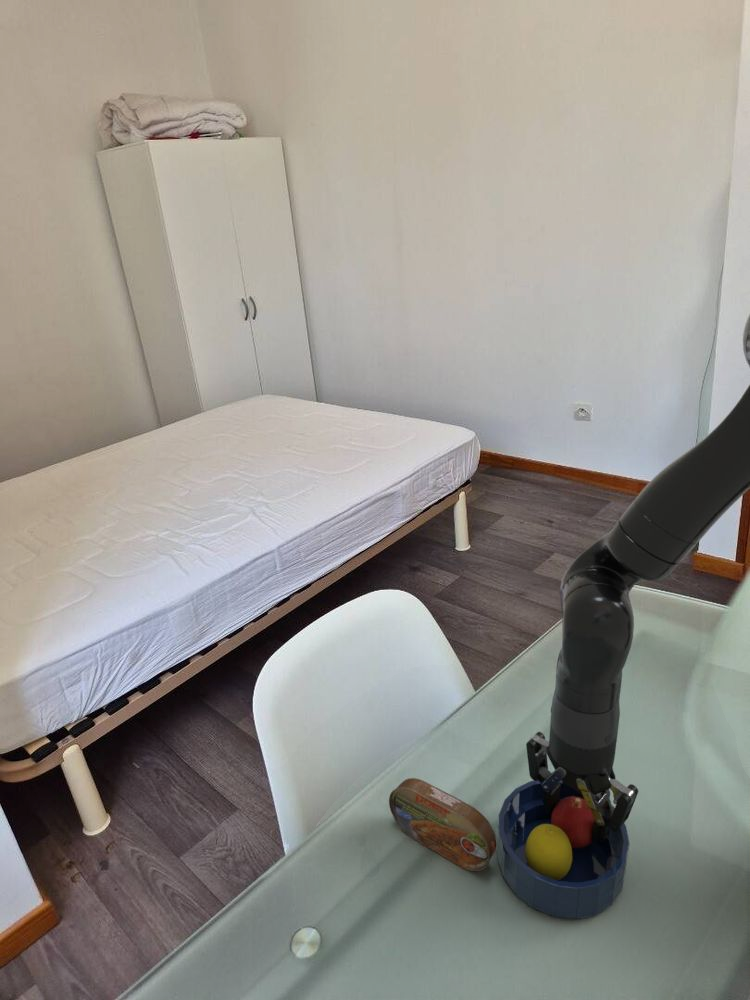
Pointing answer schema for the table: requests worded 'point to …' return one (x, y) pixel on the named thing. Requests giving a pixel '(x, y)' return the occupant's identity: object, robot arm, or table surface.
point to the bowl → (591, 869)
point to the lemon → (549, 851)
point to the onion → (574, 820)
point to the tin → (443, 824)
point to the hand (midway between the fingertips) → (574, 822)
